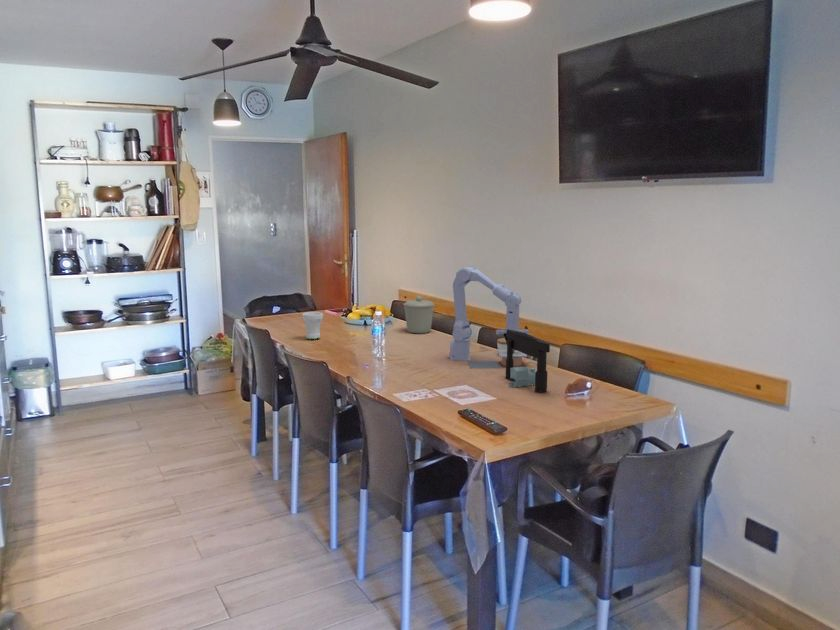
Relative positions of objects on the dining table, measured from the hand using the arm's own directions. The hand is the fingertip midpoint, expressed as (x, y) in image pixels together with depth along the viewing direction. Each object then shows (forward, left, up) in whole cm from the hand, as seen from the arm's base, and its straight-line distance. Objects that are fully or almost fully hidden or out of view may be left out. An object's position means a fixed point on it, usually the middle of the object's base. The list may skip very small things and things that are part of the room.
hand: (511, 349), depth 302 cm
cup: (-100, +59, -7) cm, 116 cm away
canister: (-42, +79, -7) cm, 90 cm away
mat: (-13, -1, -7) cm, 15 cm away
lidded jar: (+1, +19, -7) cm, 20 cm away
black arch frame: (+1, -33, -7) cm, 34 cm away
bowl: (0, 0, -7) cm, 7 cm away
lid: (0, 0, -2) cm, 2 cm away
